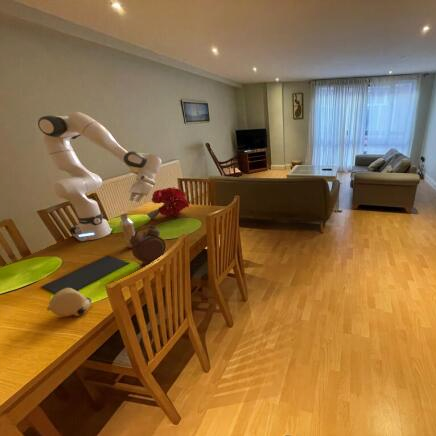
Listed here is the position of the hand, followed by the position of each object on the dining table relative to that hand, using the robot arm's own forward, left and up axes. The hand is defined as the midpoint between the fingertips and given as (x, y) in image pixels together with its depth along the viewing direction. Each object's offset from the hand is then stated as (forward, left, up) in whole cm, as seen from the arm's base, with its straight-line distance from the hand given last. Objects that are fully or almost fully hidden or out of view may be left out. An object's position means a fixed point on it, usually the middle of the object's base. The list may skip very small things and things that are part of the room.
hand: (133, 201), depth 137 cm
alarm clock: (+25, -14, -26) cm, 39 cm away
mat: (+6, -34, -26) cm, 43 cm away
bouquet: (-19, +36, -26) cm, 48 cm away
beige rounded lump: (+29, -51, -26) cm, 64 cm away
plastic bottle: (0, -7, -26) cm, 27 cm away
